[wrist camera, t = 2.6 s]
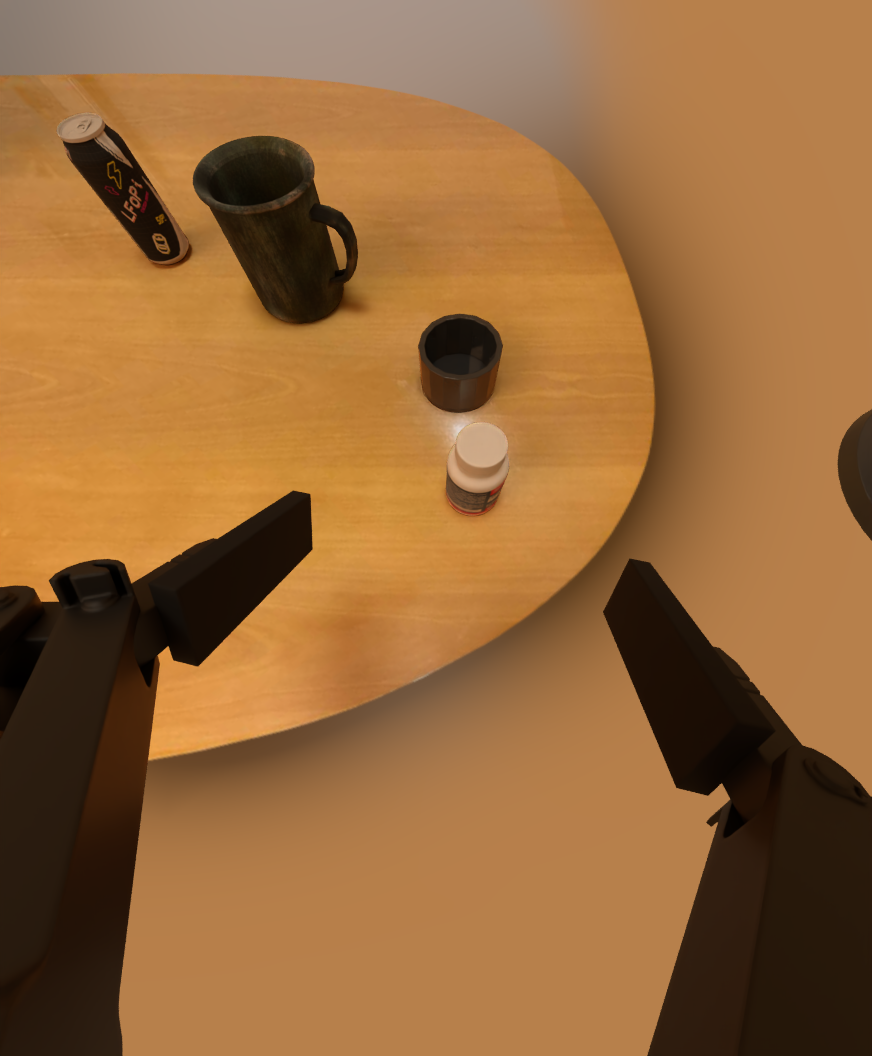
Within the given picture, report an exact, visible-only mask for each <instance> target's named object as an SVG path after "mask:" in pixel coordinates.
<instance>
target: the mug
mask: <svg viewBox="0 0 872 1056" xmlns="http://www.w3.org/2000/svg"><path fill="white" fill-rule="evenodd" d="M313 178H314V163H313V160H312V159H311V157H310V155H309V153H308V152H307V151H306V150H305V149H304V148H303V147H301V146H300V145H298V144H296V143H294V142H292V141H290V140H287V139H284V138H279V137H273V136H252V137H246V138H241V139H237V140H233V141H231V142H228V143H225V144H223V145H221V146H219V147H217V148H215V149H214V150H212V151H211V152H210V153H208V154H207V155H206V156H205V157H204V158H203V159H202V160H201V161H200V163H199V164H198V165H197V167H196V169H195V171H194V175H193V185H194V188H195V191H196V193H197V195H198V196H199V198H200V199H201V200H202V201H203V202H204V203H205V204H207V205H208V206H209V207H210V209H211V211H212V213H213V215H214V216H215V218H216V220H217V222H218V224H219V225H220V227H221V229H222V231H223V233H224V235H225V236H226V238H227V240H228V242H229V244H230V246H231V247H232V249H233V251H234V253H235V255H236V257H237V258H238V260H239V262H240V264H241V266H242V268H243V269H244V271H245V273H246V275H247V277H248V278H249V280H250V282H251V284H252V286H253V288H254V289H255V291H256V293H257V295H258V297H259V299H260V300H261V302H262V304H263V306H264V307H265V309H266V310H267V311H268V312H269V313H271V314H272V315H274V316H275V317H277V318H279V319H281V320H284V321H287V322H292V323H307V322H312V321H315V320H318V319H320V318H323V317H325V316H326V315H328V314H329V313H331V312H332V311H333V310H334V309H335V308H336V307H337V305H338V304H339V302H340V299H341V297H342V293H343V284H344V283H346V282H347V281H349V280H350V279H351V277H352V276H353V274H354V271H355V269H356V266H357V258H358V249H357V239H356V236H355V233H354V230H353V227H352V225H351V223H350V222H349V221H348V219H347V218H346V217H345V216H344V214H343V213H342V212H340V211H338V210H336V209H334V208H331V207H329V206H325V205H321V204H320V201H319V198H318V194H317V191H316V187H315V184H314V180H313ZM326 225H327V226H330V227H332V228H334V229H335V230H336V231H337V232H338V234H339V235H340V236H341V238H342V239H343V242H344V245H345V248H346V254H347V264H346V269H343V270H339V268H338V264H337V261H336V257H335V254H334V250H333V247H332V243H331V240H330V236H329V233H328V229H327V226H326Z"/></svg>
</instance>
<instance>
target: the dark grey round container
mask: <svg viewBox="0 0 872 1056" xmlns="http://www.w3.org/2000/svg"><path fill="white" fill-rule="evenodd" d="M502 348H503V345H502V342H501V338H500V335H499V333H498V331H497V330H496V329H495V328H494V327H493V326H492V325H491V324H490V323H489V322H487V321H485V320H483V319H481V318H479V317H477V316H473V315H466V314H455V315H448V316H444V317H442V318H440V319H438V320H436V321H434V322H432V323H431V324H430V325H429V326H428V327H427V328H426V329H425V331H424V332H423V333H422V335H421V338H420V342H419V345H418V349H419V361H420V372H421V381H422V388H423V391H424V393H425V395H426V397H427V398H428V399H429V401H430V402H431V403H433V404H434V405H435V406H437V407H438V408H440V409H443V410H445V411H449V412H467V411H471V410H474V409H476V408H478V407H480V406H482V405H483V404H484V403H485V402H486V401H487V400H488V399H489V398H490V396H491V395H492V393H493V390H494V386H495V381H496V377H497V372H498V367H499V362H500V357H501V352H502Z"/></svg>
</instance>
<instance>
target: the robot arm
mask: <svg viewBox="0 0 872 1056" xmlns="http://www.w3.org/2000/svg"><path fill="white" fill-rule="evenodd" d="M312 549H313V548H312V522H311V497H310V494H307V493H303V492H298V491H292V492H290V493H289V494H287V495H286V496H284V497H282V498H281V499H279V500H278V501H276V502H275V503H273V504H272V505H270V506H268V507H267V508H265V509H264V510H262V511H261V512H259V513H257V514H256V515H254V516H253V517H251V518H250V519H248V520H247V521H245V522H243V523H242V524H240V525H239V526H237V527H236V528H234V529H232V530H231V531H229V532H228V533H226V534H225V535H223V536H221V537H220V538H218V539H214V538H213V539H210V540H207V541H204V542H201V543H199V544H196V545H194V546H193V547H191V548H189V549H188V550H186V551H184V552H183V553H182V555H178V556H176V557H175V558H173V559H171V561H170V562H166V563H165V564H163V565H162V566H160V567H158V568H157V569H155V570H153V571H152V572H150V573H148V574H147V575H145V576H144V577H142V578H140V579H139V580H137V581H135V582H134V583H132V584H131V581H130V578H129V576H128V573H127V570H126V567H125V565H124V564H123V563H122V562H120V561H118V560H111V559H101V560H92V561H87V562H82V563H79V564H76V565H73V566H70V567H67V568H65V569H64V570H62V571H60V572H58V573H56V574H55V575H54V576H53V577H52V578H51V579H50V580H49V582H50V584H51V586H52V588H53V590H54V592H55V594H56V596H57V598H58V600H59V602H41V601H40V599H39V597H38V595H37V593H36V592H35V590H34V589H33V588H30V587H28V586H8V587H0V1056H122V1034H121V1028H120V1021H119V992H120V983H121V975H122V967H123V958H124V950H125V942H126V934H127V926H128V918H129V909H130V902H131V894H132V886H133V877H134V869H135V861H136V853H137V845H138V836H139V829H140V821H141V812H142V804H143V795H144V787H145V780H146V772H147V764H148V756H149V747H150V739H151V731H152V723H153V715H154V707H155V699H156V691H157V682H158V674H159V666H160V663H159V659H158V656H157V655H158V654H159V653H161V652H162V651H163V650H164V649H165V648H166V647H167V646H169V649H170V652H171V655H172V658H173V660H174V661H178V662H182V663H186V664H190V665H194V666H199V665H200V664H201V663H202V662H203V661H204V660H205V659H206V658H207V657H208V656H209V655H210V654H211V653H212V652H213V651H214V650H215V649H216V648H217V647H218V646H219V645H220V644H221V643H222V642H223V640H224V639H225V638H226V637H227V636H228V635H229V634H230V633H231V632H232V631H233V630H234V629H235V628H236V627H237V626H238V625H239V624H240V623H241V622H242V621H243V620H244V619H245V618H246V617H247V616H248V615H249V614H250V613H251V612H252V611H253V610H254V609H255V608H256V607H257V606H258V605H259V604H260V603H261V602H262V601H263V600H264V599H265V597H266V596H267V595H268V594H269V593H270V592H271V591H272V590H273V589H274V588H275V587H276V586H277V585H278V584H279V583H280V582H281V581H282V580H283V579H284V578H285V577H286V576H287V575H288V574H289V573H290V572H291V571H292V570H293V569H294V568H295V567H296V566H297V565H298V564H299V563H300V562H301V561H302V560H303V559H304V558H305V557H306V556H307V555H308V553H309V552H310V551H311V550H312ZM603 613H604V615H605V618H606V620H607V622H608V625H609V627H610V630H611V632H612V634H613V637H614V639H615V642H616V644H617V647H618V649H619V651H620V654H621V656H622V658H623V661H624V663H625V665H626V668H627V670H628V673H629V675H630V678H631V680H632V682H633V685H634V687H635V689H636V692H637V695H638V697H639V699H640V702H641V704H642V706H643V709H644V711H645V714H646V716H647V718H648V721H649V723H650V726H651V728H652V730H653V733H654V735H655V738H656V740H657V742H658V744H659V747H660V749H661V752H662V754H663V757H664V759H665V761H666V764H667V766H668V769H669V771H670V774H671V776H672V778H673V781H674V783H675V785H676V788H679V789H683V790H687V791H691V792H695V793H700V794H704V795H707V796H708V795H709V794H710V793H711V792H713V791H714V790H715V789H716V788H717V787H718V786H719V785H720V784H721V783H722V784H723V786H724V788H725V789H726V791H727V793H728V795H729V797H730V800H729V801H728V802H727V803H726V804H725V805H724V806H723V807H722V808H720V809H719V810H718V811H717V812H716V813H715V814H714V815H713V816H711V817H710V818H709V820H708V821H707V824H709V825H710V826H713V825H714V824H715V823H716V822H718V825H717V828H716V831H715V835H714V838H713V841H712V845H711V848H710V851H709V854H708V858H707V861H706V865H705V868H704V871H703V874H702V877H701V881H700V884H699V887H698V891H697V894H696V897H695V900H694V904H693V907H692V911H691V914H690V917H689V920H688V924H687V927H686V930H685V934H684V937H683V940H682V943H681V947H680V950H679V953H678V956H677V960H676V963H675V966H674V970H673V973H672V976H671V980H670V983H669V986H668V989H667V993H666V996H665V999H664V1003H663V1006H662V1009H661V1012H660V1016H659V1019H658V1022H657V1026H656V1029H655V1032H654V1035H653V1039H652V1042H651V1045H650V1049H649V1052H648V1055H647V1056H872V797H871V796H870V795H869V794H868V793H867V791H866V790H865V789H864V788H863V786H862V785H861V784H860V782H858V781H857V780H856V779H855V778H854V777H853V776H852V775H851V774H850V773H849V772H848V771H847V770H846V769H844V768H843V767H842V766H840V765H839V764H838V763H836V762H835V761H833V760H832V759H831V758H829V757H827V756H826V755H824V754H822V753H820V752H818V751H816V750H814V749H812V748H808V747H805V746H802V744H801V743H800V742H799V741H798V739H797V738H796V737H795V736H794V734H793V733H792V732H791V731H790V729H789V728H788V727H787V725H786V724H785V723H784V722H783V720H782V719H781V718H780V717H779V715H778V714H777V713H776V712H775V710H774V709H773V708H772V706H771V705H770V704H769V703H768V701H767V700H766V699H765V698H764V696H762V695H760V691H759V690H758V689H757V688H756V686H755V685H754V684H753V683H752V682H750V681H749V680H750V679H749V677H748V676H747V675H746V674H745V672H744V671H743V670H742V669H741V667H740V666H739V665H738V664H737V663H736V662H735V661H734V660H733V659H732V658H731V657H729V656H728V655H727V654H726V653H725V652H724V651H722V650H721V649H720V648H717V647H713V646H712V645H711V644H710V643H709V641H708V640H707V638H706V637H705V636H704V634H703V633H702V632H701V630H700V629H699V628H698V626H697V625H696V624H695V622H694V621H693V620H692V618H691V617H690V616H689V614H688V613H687V612H686V610H685V609H684V608H683V606H682V605H681V604H680V602H679V601H678V600H677V598H676V597H675V596H674V594H673V593H672V592H671V590H670V589H669V588H668V586H667V585H666V584H665V583H664V581H663V580H662V578H661V577H660V576H659V574H658V573H657V572H656V570H655V569H654V568H653V566H652V565H651V564H650V563H649V562H644V561H639V560H634V559H629V561H628V563H627V565H626V567H625V569H624V571H623V573H622V575H621V577H620V579H619V581H618V583H617V585H616V587H615V589H614V591H613V594H612V595H611V597H610V599H609V601H608V603H607V605H606V607H605V609H604V611H603Z"/></svg>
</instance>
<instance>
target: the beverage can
mask: <svg viewBox="0 0 872 1056" xmlns="http://www.w3.org/2000/svg"><path fill="white" fill-rule="evenodd" d="M57 134H58V135H59V137H60V138H61V139H62V140H63V143H64V146H65V150H66V154H67V156H68V158H69V159H70V161H71V162H72V163H73V165H74V166H75V167H76V168H77V170H78V171H79V172H80V173H81V175H82V176H83V177H84V178H85V180H86V181H87V182H88V184H89V185H90V186H91V187H92V189H93V190H94V191H95V192H96V194H97V195H98V196H99V197H100V199H101V200H102V201H103V203H104V204H105V205H106V206H107V208H108V209H109V210H110V211H111V213H112V214H113V215H114V217H115V218H116V219H117V220H118V222H119V223H120V224H121V225H122V227H123V228H124V229H125V230H126V232H127V233H128V234H129V236H130V237H131V238H132V239H133V241H134V242H135V243H136V244H137V246H138V247H139V248H140V249H141V251H142V252H143V253H144V255H145V256H146V257H147V258H148V259H149V260H150V261H152V262H155V263H160V264H174V263H176V262H178V261H180V260H181V259H183V258H184V256H185V255H186V252H187V250H188V247H189V242H188V239H187V238H186V236H185V235H184V233H183V232H182V230H181V228H180V227H179V225H178V224H177V222H176V221H175V219H174V218H173V216H172V215H171V213H170V212H169V210H168V208H167V207H166V205H165V204H164V202H163V201H162V199H161V198H160V196H159V195H158V193H157V191H156V190H155V188H154V187H153V185H152V184H151V182H150V181H149V179H148V178H147V176H146V175H145V173H144V171H143V170H142V168H141V167H140V165H139V164H138V162H137V161H136V159H135V158H134V156H133V155H132V153H131V151H130V150H129V148H128V147H127V145H126V144H125V142H124V141H123V139H122V138H121V137H120V136H119V134H118V133H116V132H115V131H114V130H112V129H111V128H110V127H108V126H107V125H106V124H105V123H104V121H103V119H102V118H101V117H100V116H99V115H97V114H94V113H80V114H76V115H73V116H70V117H68V118H66V119H65V120H63V121H62V122H61V123H60V124H59V125H58V127H57Z"/></svg>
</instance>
